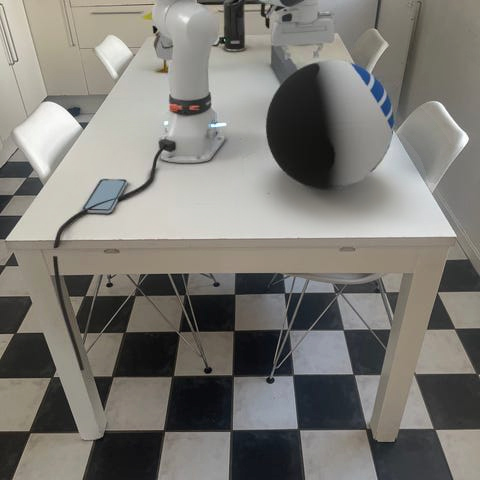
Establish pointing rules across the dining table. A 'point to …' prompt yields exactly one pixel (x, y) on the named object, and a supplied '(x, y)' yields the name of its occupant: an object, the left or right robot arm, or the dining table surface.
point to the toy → (161, 45)
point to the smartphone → (105, 195)
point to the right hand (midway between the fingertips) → (278, 27)
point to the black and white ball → (329, 124)
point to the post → (281, 63)
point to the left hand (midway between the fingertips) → (301, 58)
